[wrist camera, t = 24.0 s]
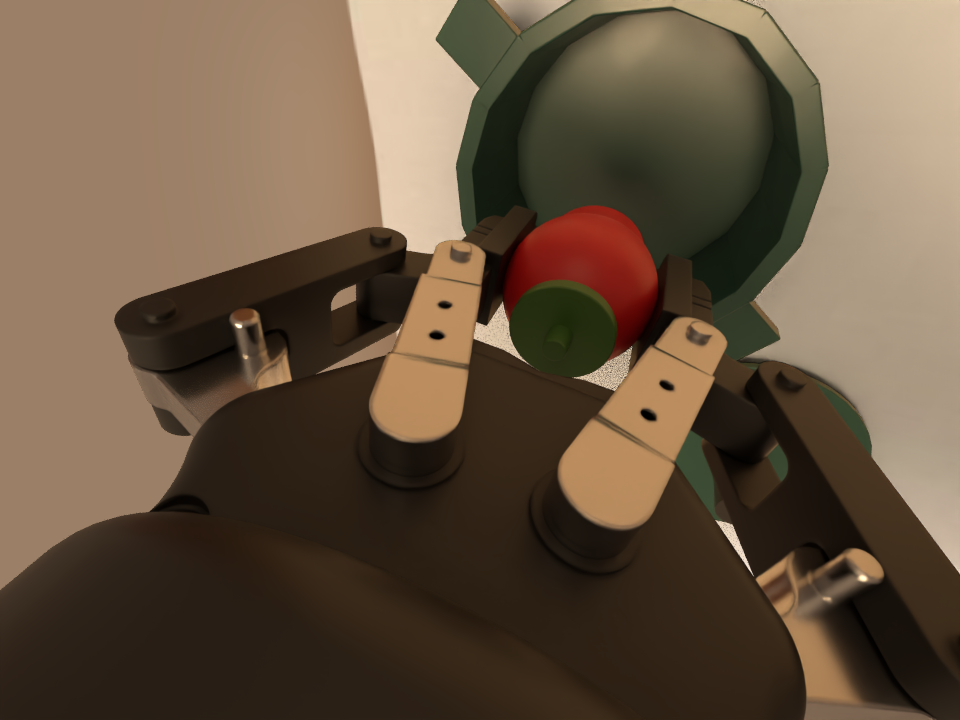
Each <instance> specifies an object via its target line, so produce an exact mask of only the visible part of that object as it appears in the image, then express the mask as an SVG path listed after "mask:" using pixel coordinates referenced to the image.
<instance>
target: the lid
mask: <svg viewBox="0 0 960 720" xmlns="http://www.w3.org/2000/svg"><path fill="white" fill-rule="evenodd" d="M740 364H742V365H744V366H746V367H748V368H750V369H752V370H753V371H755V370H756V369H757V368H758V366H759V365H760V364H757V363H745V362H744V363H740ZM808 377H809V376H808ZM810 378H811V379H812V380H813V381H814V382H815V383H816V384H817V385H818V387H819V388H820V389H821V391H822V392H823V393H824V395H825V396H826V397H827V399H828V400H829V401H830V403H831V404H832V405H833V407H834V408H835V409H836V411H837V412H838V413H839V415H840V416H841V417H842V419H843V420H844V421H845V423H846V424H847V425H848V427H849V428H850V429H851V431H852V432H853V433H854V434H855V436H856V437H857V438H858V440H859V441H860V442H861V444H862V445H863V446H864V448H865V449H866V450H867V452H868V453H869V454H870V456H871V451H872V445H871V441H870V436H869V433H868V430H867V428H866V426H865V424H864V422H863V419H862V418H861V416H860V415H859V413H858V412H857V411H856V409H855V408H854V407H853V406H852V405H851V404H850V403H849V402H848V401H847V400H846V399H845V398H844V397H843V396H842V395H840V394H839V393H838V392H836V391H835V390H834V389H832V388H831V387H829V386H827V385H825V384H824V383H822V382H820V381H818V380H816V379H814V378H812V377H810ZM702 439H703V438H702V437H700V436H699V435H697V434H695V433H694V432H692V431H691V430H690V431H689V433H688V435H687V437H686V439H685V441H684V443H683V445H682V447H681V449H680V451H679V453H678V456H677V458H676V460H675V462H676V463H677V465H678V466H679V468H680V469H681V471H682V472H683V474H684V475H685V477H686V478H687V479H688V481H689V482H690V484H691V485H692V487H693V488H694V490H695V491H696V493H697V494H698V496H699V497H700V499H701V500H702V502H703V503H704V504H705V506H706V507H707V509H708V510H709V512H710V513H711V515H712V516H713V518H714V519H715V520H718V521H723V522H727V523H729V524H732V522H731V519H730V517H729V515H728V512H727V510H726V507H725V505H724V502H723V500H722V497H721V495H720V493H719V490H718V488H717V485H716V483H715V480H714V478H713V475H712V473H711V471H710V468H709V466H708V463H707V461H706V458H705V456H704V454H703V451H702V448H701V441H702ZM767 457H768V458H769V460H770V462H771V464H772V466H773V468H774V469H775V471H776V473H777V475H778V477H779V479H780V481H781V482H782V481H783V480H784V478H785V477H786V475H787V471H788V462H787V458H786V456H785V454H784V452H783V451H782V449H781V447H780V445H779V444H778V445H777V446H776V447H775V448H774V449H773V450H772V451H771V452H770V453H769V454H768V456H767Z"/></svg>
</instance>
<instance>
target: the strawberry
mask: <svg viewBox="0 0 960 720" xmlns="http://www.w3.org/2000/svg"><path fill="white" fill-rule="evenodd" d="M657 298H658V276H657V272H656V267H655V264H654V262H653V259H652V257H651V254H650V252H649V251H648V249H647V247H646V245H645V244H644V241H643V238H642V235H641V233H640V231H639V230H638V228H637V227H636V225H635V224H634V223H633V222H632V221H631V220H630V219H629V218H628V217H627V216H625V215H624V214H623V213H621V212H619V211H617V210H614V209H612V208H609V207H604V206H584V207H580V208H577V209H574V210H572V211H569V212H568V213H566V214H565V215H563V216H560V217H557V218H554V219H552V220H550V221H547V222H545V223H544V224H542V225H540V226H539V227H537V228H536V229H534V230H533V231H532V232H531V233H530V234H528V235H527V236H526V237H525V238H524V240H523V241H522V242H521V243H520V244H519V245H518V247H517V248H516V250H515V251H514V253H513V255H512V257H511V259H510V262H509V265H508V267H507V270H506V274H505V277H504V282H503V304H504V309H505V313H506V316H507V319H508V321H509V330H510V336H511V340H512V342H513V345H514V347H515V348H516V350H517V352H518V353H519V354H520V356H521V357H522V358H523V359H524V360H525V361H526V362H527V363H529V364H530V365H531V366H533V367H534V368H536V369H538V370H539V371H542V372H545V373H550V374H555V375H560V376H565V377H570V378H572V377H580V376H584V375H587V374H590V373H592V372H594V371H596V370H597V369H599V368H600V367H601V366H603V365H604V364H605V363H606V362H607V361H609V360H611V359H613V358H615V357H617V356H619V355H621V354H622V353H623V352H625V351H626V350H628V349H629V348H630V347H631V346H632V345H633V344H634V343H635V342H636V341H637V340H638V339H639V338H640V337H641V336H642V334H643V333H644V331H645V329H646V327H647V325H648V323H649V321H650V319H651V317H652V314H653V311H654V308H655V306H656V302H657Z"/></svg>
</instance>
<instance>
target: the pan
mask: <svg viewBox="0 0 960 720" xmlns="http://www.w3.org/2000/svg"><path fill="white" fill-rule="evenodd" d="M436 41H437V42H438V43H439V44H440V45H441V46H442V48H443V49H444V50H445V51H446V52H447V53H448V54H449V55H450V56H451V57H452V59H453V60H454V61H455V62H456V63H457V64H458V65H459V66H460V67H461V68H462V70H463V71H464V72H465V73H466V74H467V75H468V76H469V77H470V78H471V79H472V81H473V82H474V83H475V84H476V85H477V86H478V87H479V88H480V89H479V90H478V92H477V93H476V95H475V96H474V99H473V100H472V104H471V108H470V112H469V116H468V120H467V124H466V128H465V132H464V136H463V140H462V143H461V147H460V151H459V155H458V159H457V163H456V165H457V166H456V171H457V181H458V191H459V201H460V210H461V220H462V226H463V229H464V231H465V233H466V235H468V234H469V233H470V232H471V231H472V230H473V229H474V228H475V227H476V226H477V225H478V224H479V223H480V222H481V221H482V220H483V219H484V218H487V217H490V216H493V215H497V216H501V217H505V216H506V215H507V214H508V212H509V211H510V210H511V209H512V208H513V207H514V206H515V205H517V206H520V207H523V208H526V209H529V210H532V211H536V212H537V220H536V224H535V227H534V229H536V228H537V227H539V226H540V225H542V224H544V223H545V222H547V221H550V220H552V219H554V218H557V217H560V216H563V215H565V214H566V213H568V212H569V211H572V210H574V209H577V208H580V207H584V206H604V207H609V208H612V209H614V210H617V211H619V212H621V213H623V214H624V215H625V216H627V217H628V218H629V219H630V220H631V221H632V222H633V223H634V224H635V225H636V227H637V228H638V230H639V231H640V233H641V235H642V238H643V241H644V244H645V245H646V247H647V249H648V251H649V252H650V254H651V257H652V259H653V262H654V264H655V267H656V272H658V270H659V268H660V265H661V263H662V261H663V259H664V258H665V256H666V255H667V254H668V253H669V254H672V255H675V256H678V257H681V258H685V259H688V260H691V261H692V278H693V279H696V280H700V281H703V282H704V284H705V285H706V286H707V288H708V289H709V290H710V292H711V303H712V309H711V310H712V317H713V326H714V327H715V328H716V329H718V330H719V331H720V332H721V333H722V334H723V335H724V336H725V338H726V340H727V347H726V349H725V351H724V353H725V354H727V355H728V356H729V357H731V358H732V359H733V360H735V361H737V360H739V359H741V358H743V357H745V356H747V355H749V354H751V353H753V352H755V351H758V350H760V349H762V348H764V347H766V346H768V345H770V344H772V343H774V342H776V341H778V340H780V335H779V331H778V328H777V327H776V326H775V324H774V323H773V322H772V321H771V320H770V319H769V318H768V316H767V315H766V314H765V313H764V312H763V311H762V309H761V308H760V307H759V306H758V305H757V304H756V302H755V301H754V299H755V297H756V296H757V295H758V294H759V293H760V292H761V291H762V289H763V288H764V287H765V286H766V285H767V284H768V283H769V282H770V280H771V279H772V278H773V277H774V276H775V275H776V274H777V272H778V271H779V270H780V269H781V268H782V267H783V266H784V265H785V263H786V262H787V261H788V260H789V259H790V258H791V257H792V256H793V254H794V253H795V252H796V251H797V250H798V249H799V248H800V246H801V244H802V242H803V239H804V237H805V234H806V231H807V228H808V225H809V222H810V220H811V217H812V214H813V211H814V208H815V205H816V203H817V200H818V197H819V194H820V191H821V189H822V186H823V183H824V180H825V177H826V174H827V172H828V166H829V163H828V154H827V145H826V136H825V126H824V117H823V108H822V99H821V90H820V83H819V82H818V79H817V78H816V76H815V75H814V73H813V72H812V71H811V69H810V68H809V67H808V65H807V64H806V63H805V61H804V60H803V58H802V57H801V56H800V54H799V53H798V52H797V50H796V49H795V48H794V46H793V45H792V43H791V42H790V41H789V39H788V38H787V37H786V35H785V34H784V33H783V31H782V30H781V29H780V27H779V26H778V24H777V23H776V22H775V20H774V19H773V18H772V16H771V15H770V14H769V12H767V11H766V10H765V9H763V8H761V7H758V6H756V5H753V4H751V3H748V2H746V1H743V0H571V1H569V2H568V3H566V4H565V5H563V6H562V7H560V8H558V9H557V10H555V11H554V12H552V13H550V14H549V15H547V16H546V17H544V18H543V19H541V20H539V21H538V22H536V23H535V24H533V25H532V26H530V27H528V28H527V29H525V30H524V31H522V32H521V31H520V29H519V28H518V27H517V26H516V25H515V24H514V22H513V21H512V20H511V19H510V18H509V17H508V16H507V14H506V13H505V12H504V11H503V10H502V9H501V7H500V6H499V5H498V4H497V3H496V2H495V0H458V1H457V3H456V5H455V6H454V8H453V10H452V11H451V13H450V15H449V17H448V18H447V20H446V22H445V23H444V25H443V27H442V29H441V30H440V32H439V34H438V35H437V37H436ZM632 346H633V345H632Z"/></svg>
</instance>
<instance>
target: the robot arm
mask: <svg viewBox="0 0 960 720" xmlns="http://www.w3.org/2000/svg"><path fill="white" fill-rule="evenodd" d="M536 220H537V212H536V211H532V210H529V209H526V208H523V207H520V206H517V205H515V206H514V207H513V208H512V209H511V210H510V211H509V212H508V214H507V215H506V216H505V217H501V216H497V215H493V216H490V217H487V218H484V219H483V220H482V221H481V222H480V223H479V224H478V225H477V226H476V227H475V228H474V229H473V230H472V231H471V232H470V233H469V234H468V235H467V236H466V237H465V238H464V239H463V240H461V241H459V240H449V241H444V242H441V243H439V244H438V245H437V246H436V249H435V251H434V254H425V253H418V252H412V251H406V248H407V240H406V238H405V236H404V235H403V234H401V233H399V232H397V231H395V230H392V229H388V228H381V227H372V228H365V229H362V230H358V231H356V232H352V233H349V234H345V235H343V236H339V237H336V238H333V239H329V240H326V241H323V242H319V243H316V244H313V245H310V246H306V247H303V248H300V249H297V250H293V251H290V252H287V253H284V254H280V255H277V256H274V257H271V258H268V259H264V260H261V261H258V262H255V263H251V264H248V265H245V266H242V267H238V268H235V269H232V270H229V271H225V272H222V273H219V274H216V275H212V276H209V277H206V278H203V279H199V280H196V281H193V282H190V283H186V284H183V285H180V286H177V287H173V288H170V289H167V290H164V291H160V292H157V293H154V294H151V295H148V296H144V297H141V298H138V299H136V300H134V301H131V302H129V303H128V304H126V305H124V306H123V307H122V308H121V309H120V310H119V311H118V312H117V314H116V315H115V320H114V321H115V325H116V327H117V329H118V331H119V333H120V335H121V338H122V340H123V342H124V345H125V347H126V349H127V351H128V359H129V362H130V364H131V366H132V368H133V370H134V373H135V375H136V377H137V379H138V381H139V384H140V386H141V388H142V390H143V392H144V395H145V397H146V399H147V401H148V402H149V403H150V404H151V405H152V407H153V409H154V411H155V414H156V416H157V418H158V420H159V422H160V424H161V427H162V428H163V429H164V430H166V431H167V432H169V433H171V434H175V435H181V436H189V435H192V436H193V437H194V438H193V440H192V442H191V445H190V447H189V450H188V452H187V455H186V457H185V461H184V463H183V465H182V468H181V469H180V471H179V473H178V475H177V477H176V479H175V480H174V482H173V483H172V485H171V487H170V488H169V490H168V491H167V492H166V494H165V495H164V496H163V498H162V499H161V500H160V502H159V503H158V504H157V505H156V506H155V507H154V508H153V509H152V510H151V511H150V512H146V513H136V514H130V515H124V516H120V517H116V518H112V519H109V520H106V521H102V522H99V523H96V524H93V525H91V526H89V527H87V528H84V529H82V530H80V531H78V532H76V533H74V534H73V535H71V536H69V537H68V538H66V539H65V540H63V541H61V542H60V543H58V544H57V545H55V546H53V547H52V548H51V549H49V550H48V551H47V552H46V553H44V554H43V555H42V556H41V557H40V558H39V559H37V560H36V561H35V562H33V564H31V565H30V566H29V567H27V568H26V569H25V570H24V571H23V572H22V573H21V574H19V575H18V576H17V577H16V578H14V579H13V580H12V581H11V582H10V583H9V584H7V585H6V586H5V587H4V588H2V589H1V590H0V720H960V574H959V572H958V571H957V570H956V568H955V567H954V566H953V564H952V563H951V562H950V560H949V559H948V558H947V556H946V555H945V554H944V552H943V551H942V550H941V549H940V547H939V546H938V545H937V543H936V542H935V541H934V539H933V538H932V537H931V535H930V534H929V533H928V531H927V530H926V529H925V527H924V526H923V525H922V523H921V522H920V521H919V519H918V518H917V517H916V515H915V514H914V513H913V511H912V510H911V509H910V507H909V506H908V505H907V503H906V502H905V501H904V499H903V498H902V497H901V495H900V494H899V493H898V492H897V490H896V489H895V488H894V486H893V485H892V484H891V482H890V481H889V480H888V478H887V477H886V476H885V474H884V473H883V472H882V470H881V469H880V468H879V466H878V465H877V464H876V462H875V461H874V460H873V458H872V457H871V456H870V454H869V453H868V452H867V450H866V449H865V448H864V446H863V445H862V444H861V442H860V441H859V440H858V438H857V437H856V436H855V434H854V433H853V432H852V431H851V429H850V428H849V427H848V425H847V424H846V423H845V421H844V420H843V419H842V417H841V416H840V415H839V413H838V412H837V411H836V409H835V408H834V407H833V405H832V404H831V403H830V401H829V400H828V399H827V397H826V396H825V395H824V393H823V392H822V391H821V389H820V388H819V387H818V385H817V384H816V383H815V382H814V381H813V380H812V379H811V378H810V377H808V376H807V375H806V374H804V373H803V372H801V371H800V370H798V369H796V368H794V367H792V366H790V365H787V364H784V363H781V362H776V361H765V362H763V363H761V364H760V365H759V366H758V368H757V369H756V370H755V371H753V370H752V369H750V368H748V367H746V366H744V365H742V364H740V363H739V362H737V361H735V360H733V359H732V358H731V357H729V356H728V355H727V354H725V353H724V351H725V349H726V347H727V340H726V338H725V336H724V335H723V334H722V333H721V332H720V331H719V330H718V329H716V328H715V327H714V326H713V317H712V310H711V309H712V303H711V292H710V290H709V289H708V288H707V286H706V285H705V284H704V282H703V281H700V280H696V279H693V278H692V261H691V260H688V259H685V258H681V257H678V256H675V255H672V254H669V253H668V254H667V255H666V256H665V258H664V259H663V261H662V263H661V265H660V268H659V270H658V272H657V276H658V298H657V302H656V306H655V308H654V311H653V314H652V317H651V319H650V321H649V323H648V325H647V327H646V329H645V331H644V333H643V334H642V336H641V337H640V338H639V339H638V340H637V341H636V342H635V343H634V344H633V347H632V353H631V359H630V364H629V370H628V375H627V376H626V377H625V379H624V380H623V381H622V383H621V384H620V385H619V387H618V388H617V389H616V390H615V391H612V390H610V389H607V388H604V387H601V386H599V385H596V384H593V383H591V382H588V381H585V380H581V379H576V378H570V377H565V376H560V375H555V374H550V373H545V372H542V371H539V370H537V369H535V368H534V367H532V366H530V365H529V364H527V363H525V362H523V361H522V360H520V359H518V358H517V357H515V356H513V355H511V354H510V353H508V352H506V351H505V350H502V349H499V348H497V347H494V346H491V345H489V344H486V343H483V342H481V341H478V340H475V339H473V338H474V332H475V326H476V322H478V323H480V324H483V325H486V326H487V324H488V323H489V321H490V320H491V318H492V317H493V315H494V314H495V312H496V311H497V309H498V308H499V306H500V305H501V303H502V302H503V282H504V277H505V274H506V270H507V267H508V265H509V262H510V259H511V257H512V255H513V253H514V251H515V250H516V248H517V247H518V245H519V244H520V243H521V242H522V241H523V240H524V238H525V237H526V236H527V235H528V234H530V233H531V232H532V231H533V230H534V227H535V224H536ZM355 284H356V301H354V302H351V303H349V304H347V305H345V306H342V307H340V308H338V309H335V310H333V311H331V302H332V300H333V298H334V296H335V295H336V294H337V293H338V292H339V291H341V290H343V289H345V288H348V287H350V286H353V285H355ZM401 324H402V326H401ZM400 327H401V328H400ZM399 328H400V331H399V334H398V337H397V339H396V342H395V345H394V347H393V350H392V351H391V352H389V353H388V354H387V355H385V356H382V357H378V358H374V359H370V360H366V361H363V362H359V363H356V364H352V365H348V366H344V367H341V368H337V369H333V370H330V371H326V372H322V373H319V374H317V373H318V372H320V371H322V370H324V369H326V368H328V367H330V366H331V365H333V364H335V363H337V362H339V361H341V360H343V359H345V358H347V357H349V356H350V355H352V354H354V353H356V352H358V351H360V350H362V349H364V348H366V347H368V346H369V345H371V344H373V343H375V342H377V341H379V340H381V339H383V338H385V337H386V336H388V335H390V334H392V333H394V332H396V331H397V330H398V329H399ZM690 430H691V431H692V432H694V433H695V434H697V435H699V436H700V437H702V438H703V439H702V441H701V448H702V451H703V454H704V456H705V458H706V461H707V463H708V466H709V468H710V471H711V473H712V475H713V478H714V480H715V483H716V485H717V488H718V490H719V493H720V495H721V497H722V500H723V502H724V505H725V507H726V510H727V512H728V515H729V517H730V519H731V522H732V524H733V527H734V529H735V532H736V534H737V536H738V539H739V541H740V544H741V546H742V549H743V551H744V554H745V556H746V558H747V561H748V563H749V566H750V568H751V571H752V573H753V575H754V577H753V575H752V574H751V572H750V571H749V569H748V568H747V566H746V565H745V563H744V562H743V560H742V559H741V557H740V556H739V555H738V553H737V552H736V550H735V549H734V547H733V546H732V544H731V543H730V541H729V540H728V538H727V537H726V535H725V534H724V532H723V531H722V530H721V528H720V527H719V525H718V524H717V522H716V521H715V519H714V518H713V516H712V515H711V513H710V512H709V510H708V509H707V507H706V506H705V504H704V503H703V502H702V500H701V499H700V497H699V496H698V494H697V493H696V491H695V490H694V488H693V487H692V485H691V484H690V482H689V481H688V479H687V478H686V477H685V475H684V474H683V472H682V471H681V469H680V468H679V466H678V465H677V463H676V462H675V460H676V458H677V456H678V453H679V451H680V449H681V447H682V445H683V443H684V441H685V439H686V437H687V435H688V433H689V431H690ZM778 444H779V445H780V447H781V449H782V451H783V452H784V454H785V456H786V458H787V462H788V471H787V475H786V477H785V478H784V480H783V481H782V482H781V481H780V479H779V477H778V475H777V473H776V471H775V469H774V468H773V466H772V464H771V462H770V460H769V458H768V457H767V456H768V454H769V453H770V452H771V451H772V450H773V449H774V448H775V447H776V446H777V445H778Z"/></svg>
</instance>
